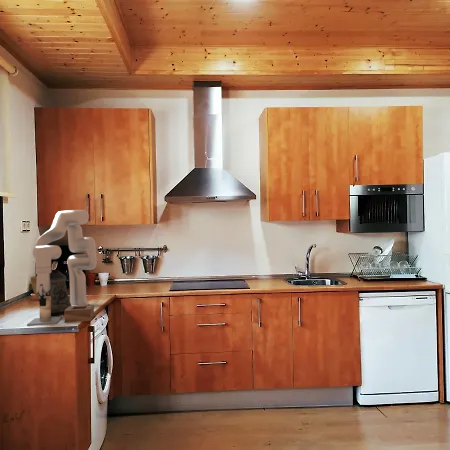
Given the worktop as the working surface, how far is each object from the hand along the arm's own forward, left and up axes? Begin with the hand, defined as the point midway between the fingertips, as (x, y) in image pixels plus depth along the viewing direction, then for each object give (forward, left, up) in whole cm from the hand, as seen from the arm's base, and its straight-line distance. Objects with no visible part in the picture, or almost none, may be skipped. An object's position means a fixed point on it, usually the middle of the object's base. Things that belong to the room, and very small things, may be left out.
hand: (44, 304), depth 231 cm
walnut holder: (-2, +17, -9) cm, 19 cm away
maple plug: (0, 0, -8) cm, 8 cm away
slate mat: (0, 0, -9) cm, 9 cm away
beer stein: (-19, +1, -9) cm, 21 cm away
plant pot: (-76, -20, -9) cm, 79 cm away
